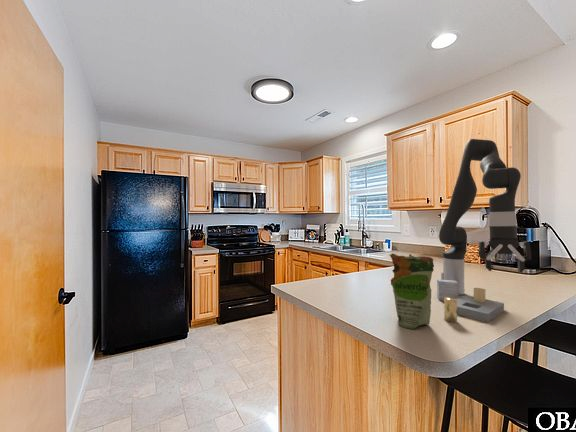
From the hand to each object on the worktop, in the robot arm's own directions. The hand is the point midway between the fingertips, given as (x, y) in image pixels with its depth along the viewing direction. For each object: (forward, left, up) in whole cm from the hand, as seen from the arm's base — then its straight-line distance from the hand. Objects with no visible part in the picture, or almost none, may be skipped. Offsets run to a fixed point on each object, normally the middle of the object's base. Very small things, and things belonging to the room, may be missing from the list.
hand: (504, 271), depth 93 cm
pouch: (-21, -25, -19) cm, 37 cm away
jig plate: (-12, +9, -19) cm, 24 cm away
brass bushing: (-14, -10, -19) cm, 25 cm away
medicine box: (-25, +16, -19) cm, 35 cm away
